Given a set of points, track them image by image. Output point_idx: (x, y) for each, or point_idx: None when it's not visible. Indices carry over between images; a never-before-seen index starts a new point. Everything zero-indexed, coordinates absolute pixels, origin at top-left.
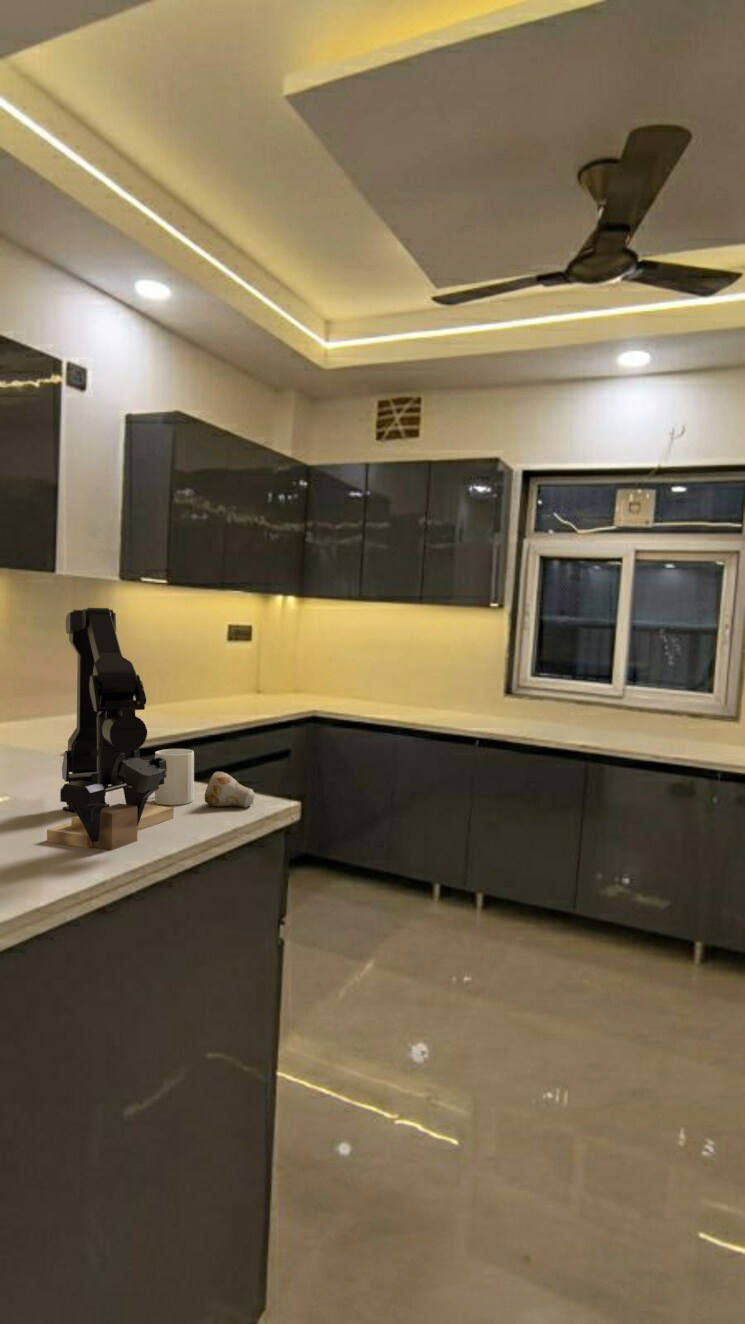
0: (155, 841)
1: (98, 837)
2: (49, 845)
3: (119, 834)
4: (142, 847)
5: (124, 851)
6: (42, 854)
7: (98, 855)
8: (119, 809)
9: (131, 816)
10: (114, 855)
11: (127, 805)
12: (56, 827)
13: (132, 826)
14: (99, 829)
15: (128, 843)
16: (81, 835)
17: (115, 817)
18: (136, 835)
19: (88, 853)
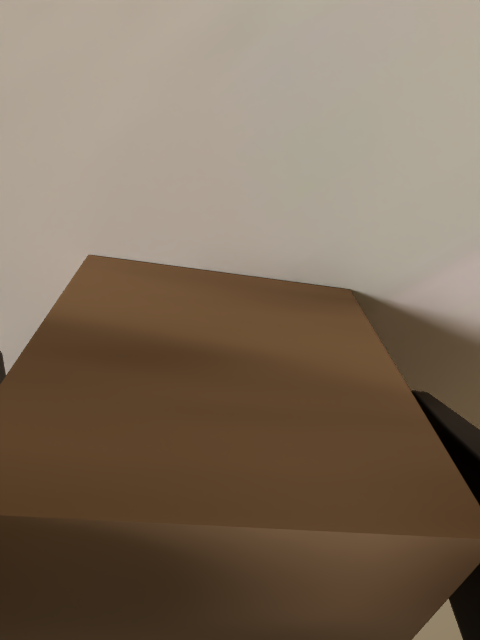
0: (21, 89)
1: (431, 406)
2: None
3: (293, 331)
4: (233, 102)
5: (369, 188)
6: None
7: (473, 299)
8: (246, 574)
9: (109, 409)
10: (475, 202)
11: (1, 601)
12: None
13: (118, 330)
14: (472, 449)
15: (188, 269)
16: None
17: (405, 474)
18: (85, 275)
19: (433, 368)
